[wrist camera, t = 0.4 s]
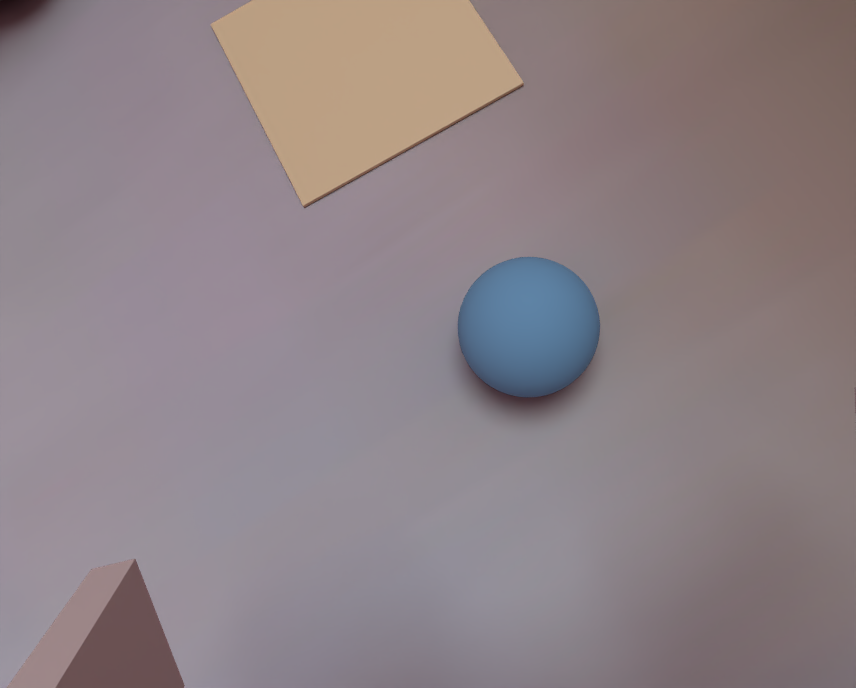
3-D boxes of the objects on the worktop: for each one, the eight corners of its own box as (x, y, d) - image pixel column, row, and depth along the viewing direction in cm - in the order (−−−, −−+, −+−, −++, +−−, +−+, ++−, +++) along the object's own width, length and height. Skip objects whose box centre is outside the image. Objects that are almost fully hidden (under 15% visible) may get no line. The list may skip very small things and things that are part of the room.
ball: (616, 366, 27) (639, 338, 21) (502, 427, 27) (497, 415, 22) (550, 259, 28) (557, 208, 23) (442, 319, 28) (423, 282, 23)
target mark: (523, 85, 30) (523, 82, 30) (304, 207, 30) (302, 205, 30) (410, -87, 33) (409, -90, 33) (212, 26, 33) (210, 24, 33)
